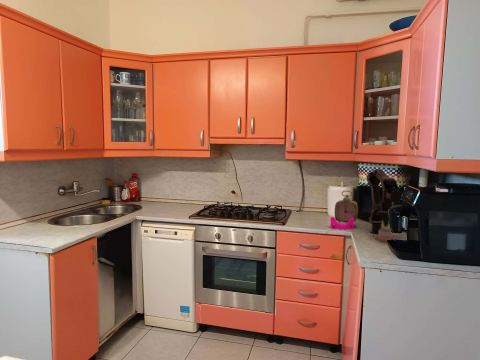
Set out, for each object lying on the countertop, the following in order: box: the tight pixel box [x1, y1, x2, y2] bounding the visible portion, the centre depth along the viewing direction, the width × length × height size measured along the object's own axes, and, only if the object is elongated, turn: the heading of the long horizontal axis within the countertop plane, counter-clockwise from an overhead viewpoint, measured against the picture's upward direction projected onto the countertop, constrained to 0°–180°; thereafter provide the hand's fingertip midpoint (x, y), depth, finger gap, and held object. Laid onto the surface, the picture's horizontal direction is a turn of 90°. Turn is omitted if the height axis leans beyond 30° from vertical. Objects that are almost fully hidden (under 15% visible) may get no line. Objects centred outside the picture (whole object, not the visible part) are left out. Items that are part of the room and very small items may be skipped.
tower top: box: [378, 228, 394, 238], centre depth 186 cm, size 7×7×3 cm
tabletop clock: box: [334, 190, 359, 228], centre depth 219 cm, size 14×9×25 cm, turn 62°
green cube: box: [382, 220, 391, 230], centre depth 185 cm, size 4×4×4 cm
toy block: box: [329, 216, 355, 231], centre depth 213 cm, size 15×6×8 cm, turn 75°
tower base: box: [374, 233, 397, 243], centre depth 186 cm, size 9×9×3 cm
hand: (386, 225), depth 185 cm, fingers closed on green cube, 4 cm apart
